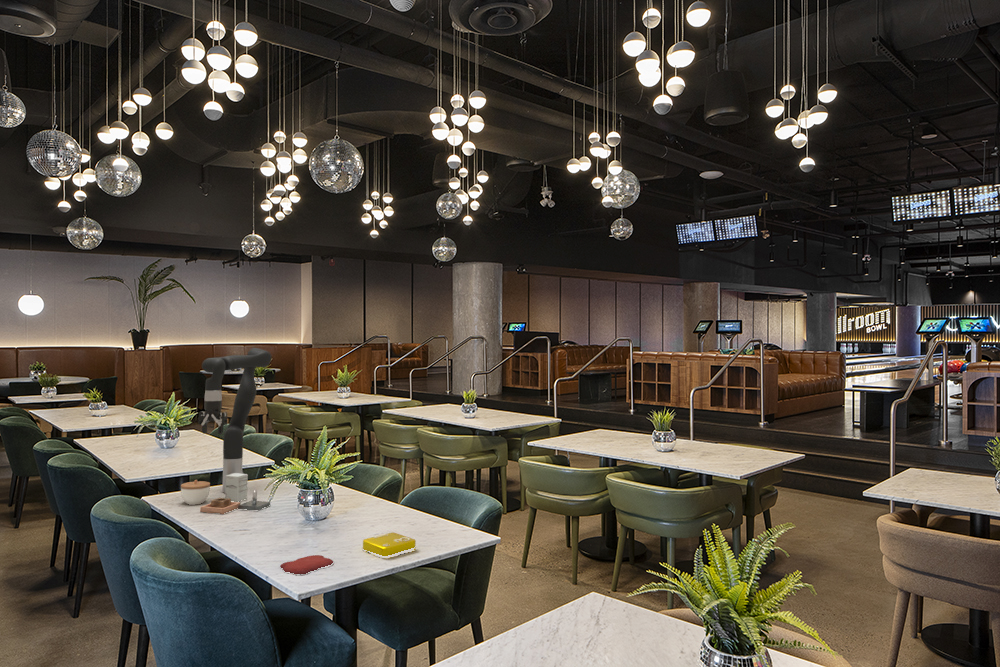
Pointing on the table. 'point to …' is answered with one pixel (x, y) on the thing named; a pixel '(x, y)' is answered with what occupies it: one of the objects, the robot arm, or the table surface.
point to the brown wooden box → (221, 502)
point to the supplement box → (236, 486)
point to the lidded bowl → (195, 492)
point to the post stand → (254, 503)
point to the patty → (306, 564)
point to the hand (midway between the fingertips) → (212, 433)
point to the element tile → (388, 544)
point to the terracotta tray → (210, 509)
